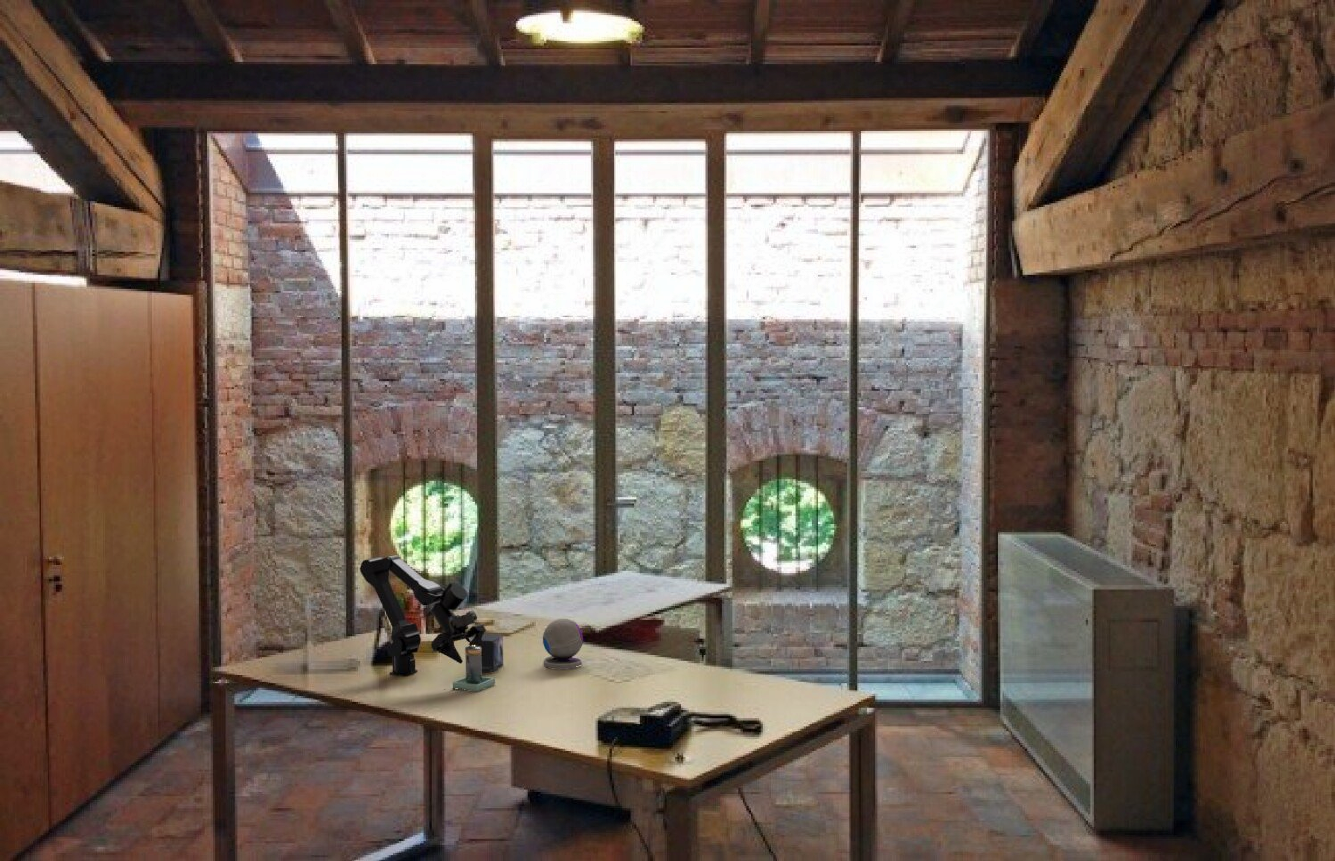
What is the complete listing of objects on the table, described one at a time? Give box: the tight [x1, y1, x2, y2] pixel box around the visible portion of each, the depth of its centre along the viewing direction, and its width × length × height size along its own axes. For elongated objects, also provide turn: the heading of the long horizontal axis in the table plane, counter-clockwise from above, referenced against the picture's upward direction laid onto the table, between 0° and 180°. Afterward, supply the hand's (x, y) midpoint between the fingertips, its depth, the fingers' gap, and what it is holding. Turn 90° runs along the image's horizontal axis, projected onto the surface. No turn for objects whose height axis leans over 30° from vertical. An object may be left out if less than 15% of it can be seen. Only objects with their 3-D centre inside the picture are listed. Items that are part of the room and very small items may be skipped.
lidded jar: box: [464, 645, 483, 685], centre depth 441 cm, size 5×5×12 cm
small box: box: [481, 632, 504, 673], centre depth 463 cm, size 11×6×10 cm, turn 168°
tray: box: [452, 676, 496, 693], centre depth 441 cm, size 9×9×2 cm
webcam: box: [542, 618, 584, 670], centre depth 467 cm, size 13×13×15 cm
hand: (472, 659), depth 441 cm, fingers open, 9 cm apart
